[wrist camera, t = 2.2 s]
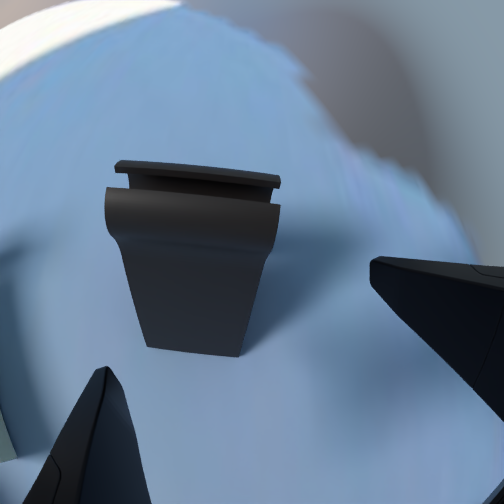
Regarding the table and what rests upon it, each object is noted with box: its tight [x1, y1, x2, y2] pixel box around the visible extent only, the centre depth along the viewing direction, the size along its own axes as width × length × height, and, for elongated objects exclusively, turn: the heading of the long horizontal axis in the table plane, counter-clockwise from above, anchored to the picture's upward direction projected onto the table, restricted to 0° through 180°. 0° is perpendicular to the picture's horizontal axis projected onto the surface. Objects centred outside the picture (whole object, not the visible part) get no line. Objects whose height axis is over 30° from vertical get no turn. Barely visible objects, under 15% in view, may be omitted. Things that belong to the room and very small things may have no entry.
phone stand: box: [105, 160, 281, 357], centre depth 15 cm, size 9×6×12 cm, turn 175°
